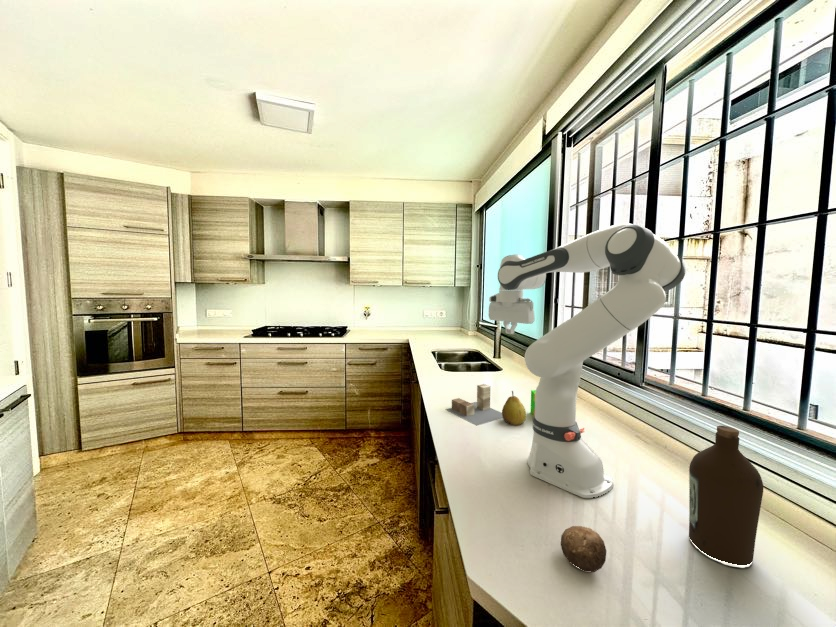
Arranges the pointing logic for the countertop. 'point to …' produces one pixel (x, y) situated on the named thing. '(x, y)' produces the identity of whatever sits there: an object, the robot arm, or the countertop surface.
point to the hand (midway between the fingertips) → (509, 333)
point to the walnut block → (463, 407)
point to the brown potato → (583, 548)
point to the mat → (479, 415)
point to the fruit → (514, 411)
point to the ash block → (483, 397)
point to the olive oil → (724, 500)
